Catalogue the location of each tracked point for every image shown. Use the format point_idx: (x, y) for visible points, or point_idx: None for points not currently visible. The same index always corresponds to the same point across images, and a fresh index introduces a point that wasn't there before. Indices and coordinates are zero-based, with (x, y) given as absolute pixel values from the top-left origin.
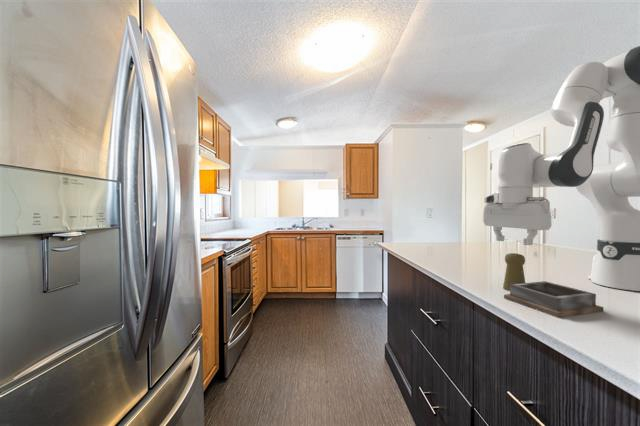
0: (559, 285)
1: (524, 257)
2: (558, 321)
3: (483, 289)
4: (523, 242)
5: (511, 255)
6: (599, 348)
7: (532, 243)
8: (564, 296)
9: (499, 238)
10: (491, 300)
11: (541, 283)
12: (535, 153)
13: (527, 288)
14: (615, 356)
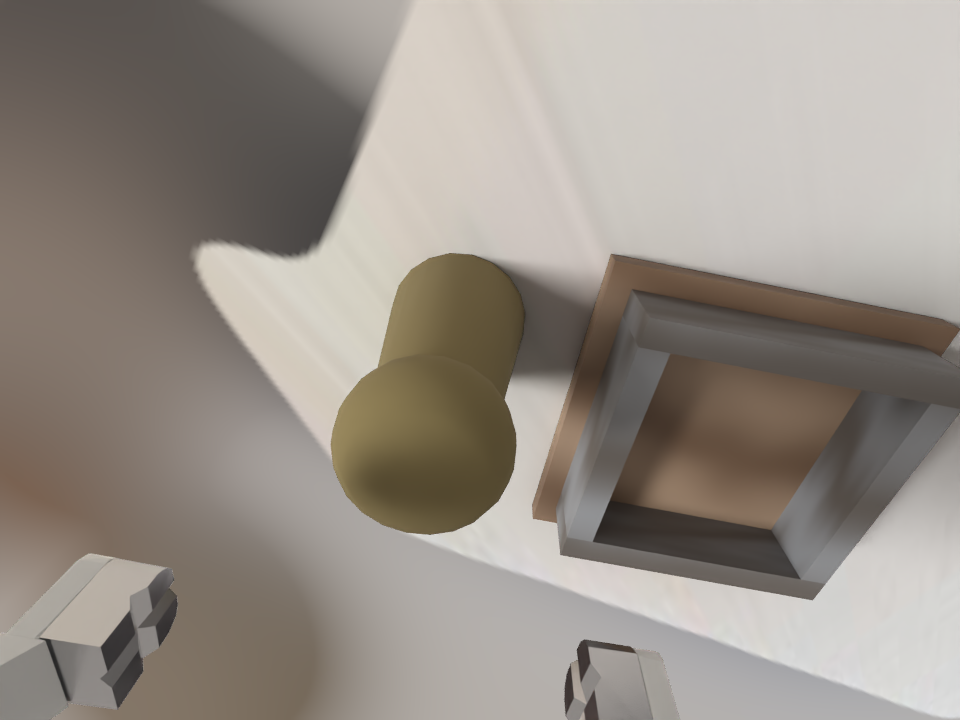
0: (761, 356)
1: (504, 440)
2: None
3: None
4: (566, 713)
5: (429, 534)
6: (917, 665)
7: (662, 671)
8: (834, 553)
9: (141, 659)
10: (522, 563)
11: (653, 387)
12: None
13: (654, 556)
14: (951, 678)
